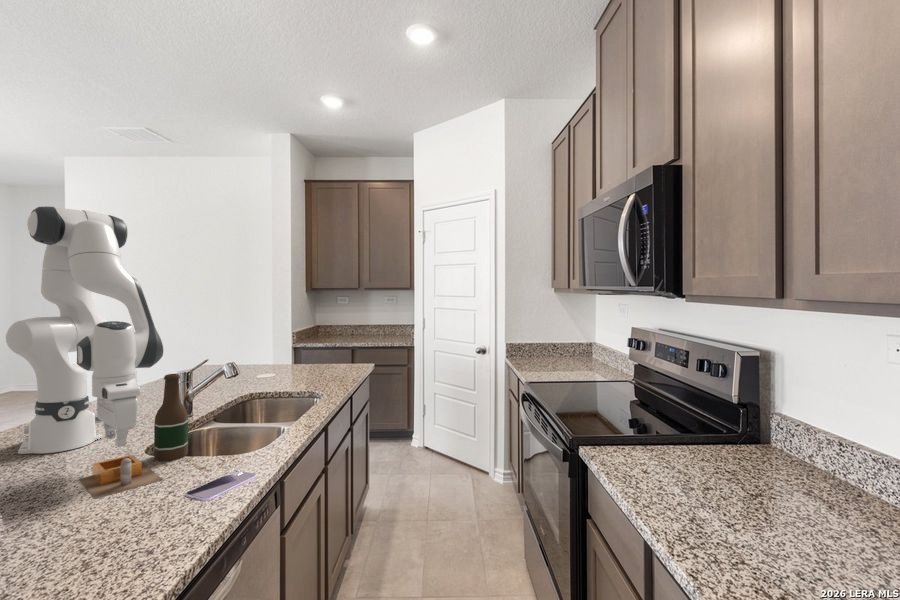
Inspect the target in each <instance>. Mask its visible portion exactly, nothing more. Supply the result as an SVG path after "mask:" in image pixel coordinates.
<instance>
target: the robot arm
mask: <svg viewBox="0 0 900 600" xmlns="http://www.w3.org/2000/svg"><path fill="white" fill-rule="evenodd" d="M26 225H27V230H28V232H29V233H28V234H29V236H30V237H31V238H32V239H33V240H34V241H35V242H37V243H40V244H43V245H46V248H45V252H44V256H43V260H42V269H41V271H42V272H41V283H40V294H41V296H42V297H43V298H44V299H45V300H46V301H48V302H50V303H51V304H54V305H56V306H57V308H58V310H59V313H60V315H59V316H37V317H32V318H26V319H21V320H18V321H15V322H13V323H12V324H11V325H10V326H9V328H8V329H7V331H6V334H5V342H6V345H7V347H8V348H9V350H10V351H12V352H13V353H15V354H16V355H17V356H20V357H22V358H23V359H25V360H26V361H27V362H28V364H30V366H31V368H32V370H33V371H34V374H35V377H36V390H37V393H36V395H37V401H35V404H34V414H35V416H34V418H33V419H31V421H30V422H28V425H26V426H24V427H23V434H24V435H26V436H25V438H24V440H23V441H22V443H21V445H20V447H19V448H18V451H17V454H18V455H26V454H54V453H59V452H60V453H61V452H65V451H70V450H75V449H78V448H82V447H85V446H88V445H90V444H91V443H93V442H96V441H98V440H101V439H103V434H101V433H98V432H96V417H97V419H98V420H100V421H101V422H103V429H104V432H105V435H104V436H105V439H107V440H111V439H113V440H114V439H115V446H116V447H117V448H122V447H126V445H127V438H128V434H129V431H130V430H134V429H135V427H136V426H137V423H138V422H137V420H138V405H139V402H138V401H139V399H138V397H140V396H141V387H140V386H139V384H138V378H137V375H138V372H137V369H146V368H147V369H148V368H151V367H153V366H154V365H156V364H157V363H158V362H159V361H161V359H162V357H163V355H164V345H163V342H162V339H161V336H160V334H159V333H158V330H157V327H156V326H155V323H154V321H153V317H152V314H151V311H150V308H149V305H148V303H147V299H146V297H145V294H144V291H143V289H142V286H141V285H140V282H139V281H138V279H137V278H135V277H132V276H131V275H130V274H129V273H128V272H127V271H126V269H125V267H124V266H123V263H122V255H121V251H120V249H121V248H122V247H124V246H125V245H126V243H127V238H128V226H127V224H126V223H125V221H124V220H123V219H121V218H119V217H117V216H114V215H110V214H108V215H106V214H103V213H98V212H95V211H91V210H90V211H89V210H84V209H83V210H80V209H72V208H61V207H59V208H58V207H57V208H56V207H54V206H37V207H36V208H34V209H33V210H32V211H31V212H30V215H29V216H28V219H27V224H26ZM92 293H94V294H98V295H101V296H102V295H103V296H105V297H109V298H112V299H114V300H116V301H119V302H121V303H122V304H123V305H124V306H125V307H126V309H127V311H128V313H129V317H130V320H131V322H132V324H131V323H129V322H127V321H126V322H124V321H117V320H115V321H113V320H112V321H110V320H109V321H108V320H107V319H106V318H104V317H103V316H102V315H101V314H100V313H99V311H98V310H97V309H96V307H95V305H94V303H93V299H92ZM73 352H75V353H76V364H73V363H72V362H71V360H70V359H69V353H73ZM87 371H89V372H92V375H91V394H92V397H94V398H96V415H95V413H94V412H93V411H90V409H89V408H90V407H89V405H90V404H89V403H90V399H89V395H88V389H87V388H88V373H87ZM100 438H101V439H100ZM97 439H98V440H97ZM95 440H96V441H95Z"/></svg>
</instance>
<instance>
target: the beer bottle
mask: <svg viewBox="0 0 900 600" xmlns="http://www.w3.org/2000/svg"><path fill="white" fill-rule="evenodd" d="M180 379H181V376H180V374H178V373H169V374H165V375H164V377H163V380H164V389H163V390H164V391H163V399H162V405H160V407H159V408H158V410H157V412H156V414H155V416H154V422H153V423H154V424H153V425H154V428H153V429H154V430H153V431H154V432H153V433H154V437H153V440H154V441H153V445H154V446H153V459H154V460H155V461H158V462H172V461H174V460H175V461H176V460H179V459H183V458H184V457H185V456H187V455H188V454H189V453H188V452H189V413H188V411H187V409H186V407H185V406H184V405H183V403H182V401H181V392H180Z"/></svg>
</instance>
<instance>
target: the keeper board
mask: <svg viewBox="0 0 900 600" xmlns="http://www.w3.org/2000/svg"><path fill="white" fill-rule="evenodd" d="M78 480H79V481H80V483H82V486H84V488H85V489H86V491H87V492H88V493H89V494H90V496H91V497H92V498H93V499H94V500H97V499H101V498H105V497H108V496H111V495H114V494H119V493H122V492H126V491H129V490H133V489H137V488H140V487H144V486H148V485H151V484H154V483H159V482H162V481H164V479H163V478H162V477H161V475H159V474H157V473H156V472H155V471H154V470H152V469H151V468H150V467H149V466H148V465H146V464H145V463H144V462H142V475H138V476H134V477H131V459H129V458H125V459H123V460H122V461H121V480H119V481H115V482H111V483H107V484H104V485H100V484H99V483H98V482H97V481H96V479H95V478H94V477H93V476H92V475H88V476H84V477H79V478H78Z"/></svg>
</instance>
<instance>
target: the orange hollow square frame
mask: <svg viewBox="0 0 900 600" xmlns="http://www.w3.org/2000/svg"><path fill="white" fill-rule="evenodd" d="M125 458H129V459H131V477H134V476H138V475H142V463H143V462H142V461H140V459H139V458H137V457H136V456H135V455H134V454H129V455H125V456H120V457H116V458H112V459H107V460H102V461H97V462H93V463H92V476H93V477H94V478H95V479H96V481H97V482H98V483H99V484H100V485H104V484H107V483H111V482H115V481H119V480H121V461H122V460H123V459H125Z"/></svg>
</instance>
